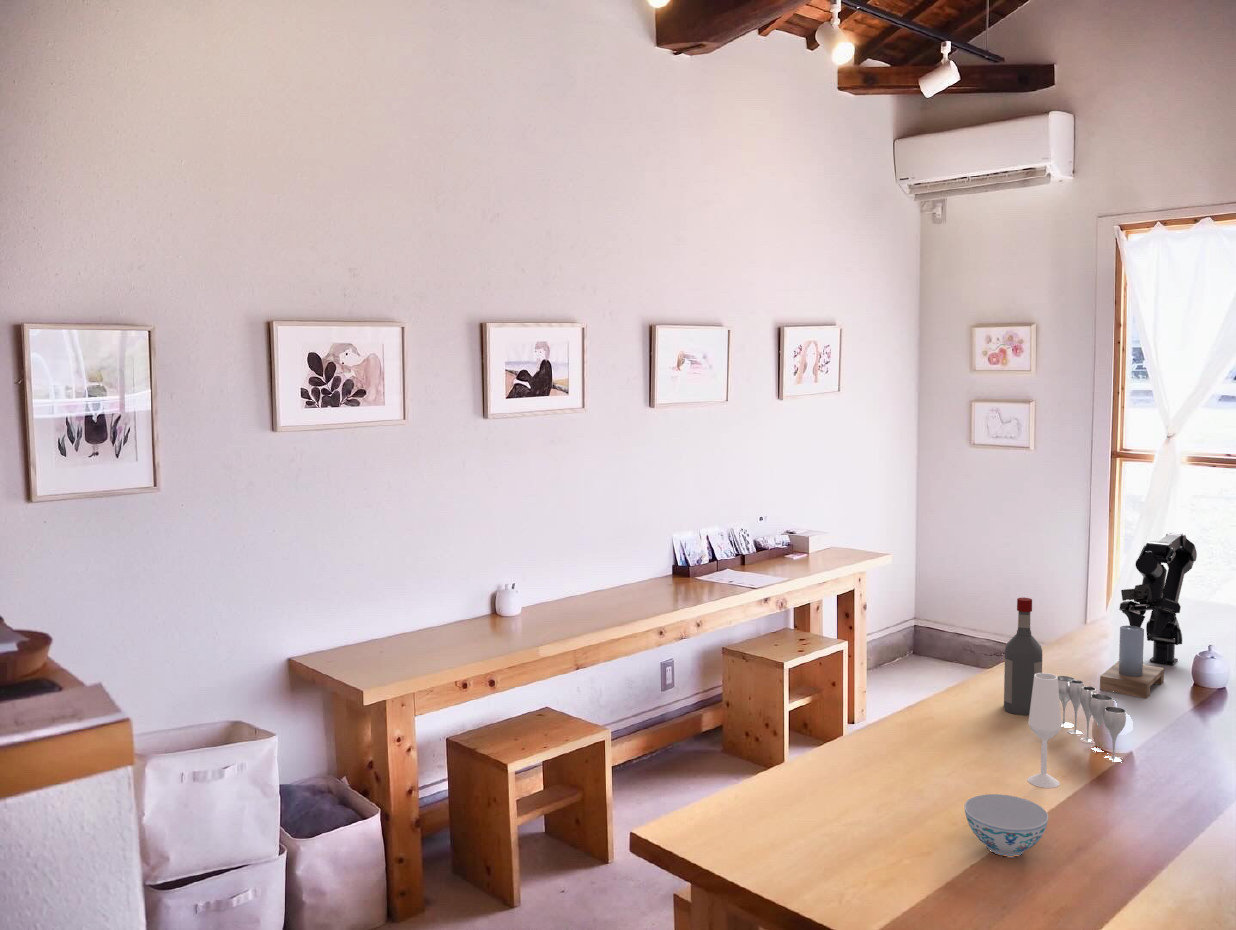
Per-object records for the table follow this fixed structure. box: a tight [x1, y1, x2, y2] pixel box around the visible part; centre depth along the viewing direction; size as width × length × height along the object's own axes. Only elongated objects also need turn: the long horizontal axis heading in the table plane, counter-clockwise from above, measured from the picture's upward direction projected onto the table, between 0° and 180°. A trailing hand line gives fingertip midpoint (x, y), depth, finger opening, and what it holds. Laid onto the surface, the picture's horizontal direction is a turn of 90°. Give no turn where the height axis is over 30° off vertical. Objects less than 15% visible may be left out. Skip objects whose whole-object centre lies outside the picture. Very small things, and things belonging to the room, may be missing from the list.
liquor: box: [1003, 597, 1043, 716], centre depth 270 cm, size 9×9×30 cm
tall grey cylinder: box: [1118, 625, 1145, 677], centre depth 286 cm, size 6×6×13 cm
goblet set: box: [1056, 675, 1127, 763], centre depth 249 cm, size 28×6×13 cm, turn 4°
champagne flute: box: [1027, 672, 1062, 789], centre depth 225 cm, size 7×7×24 cm
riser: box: [1099, 660, 1165, 699], centre depth 289 cm, size 18×12×4 cm, turn 139°
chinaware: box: [964, 793, 1049, 856], centre depth 196 cm, size 15×15×8 cm
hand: (1144, 635), depth 294 cm, fingers open, 9 cm apart
